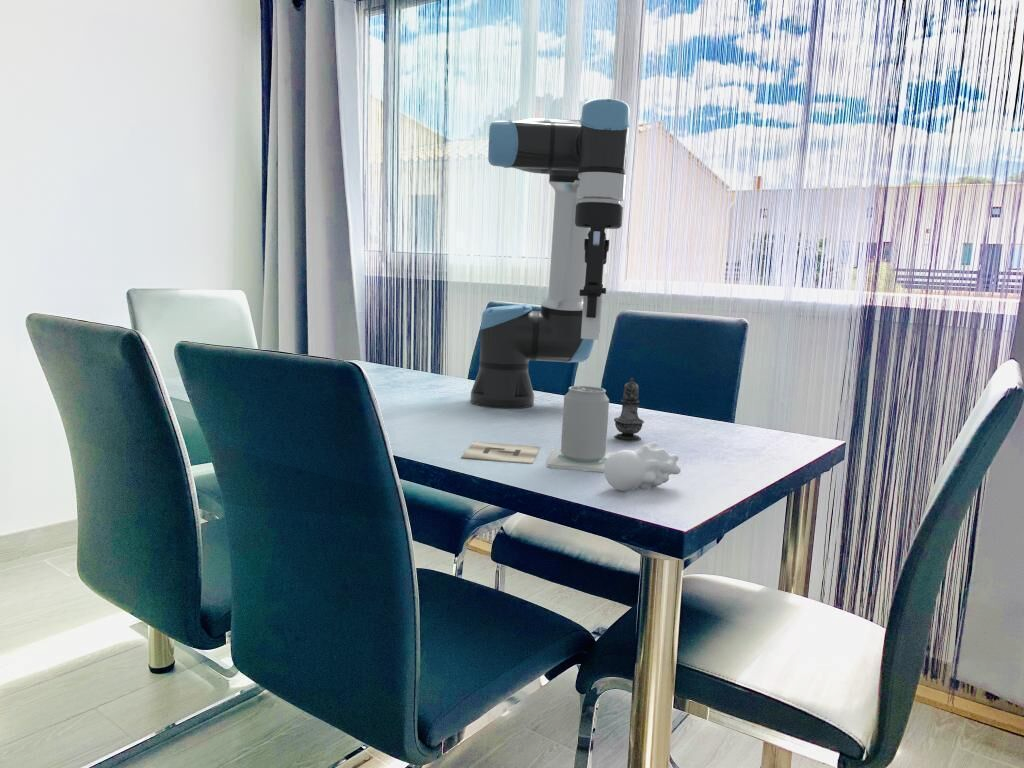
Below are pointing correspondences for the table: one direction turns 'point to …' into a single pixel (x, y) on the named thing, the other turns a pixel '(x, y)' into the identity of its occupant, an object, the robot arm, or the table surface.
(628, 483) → the figurine
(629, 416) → the salt shaker
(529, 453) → the tile
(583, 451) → the can
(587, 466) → the coaster
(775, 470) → the table surface
